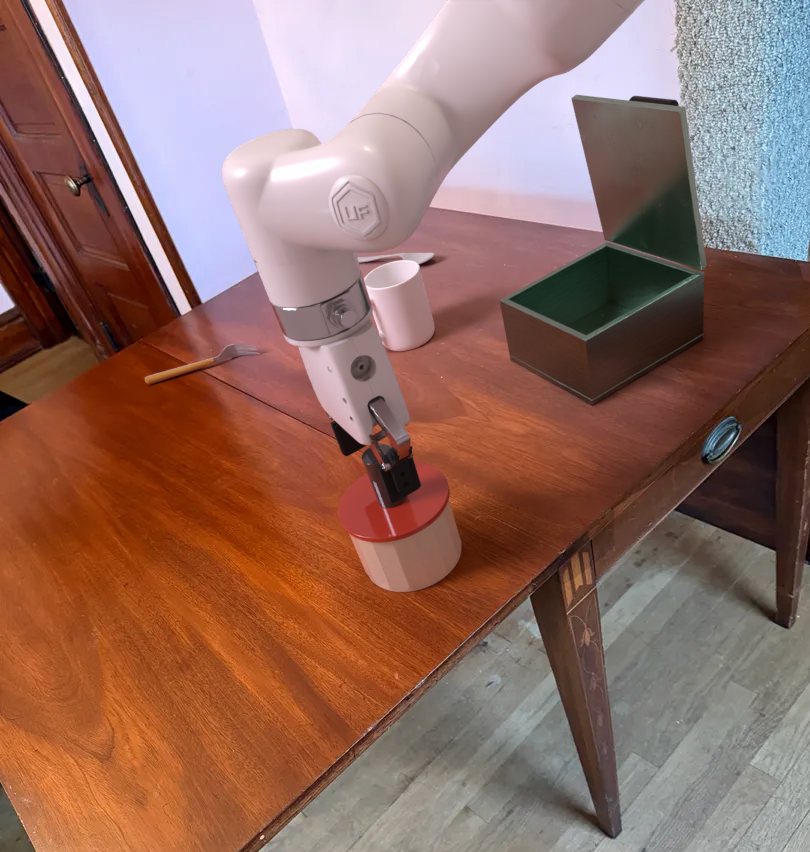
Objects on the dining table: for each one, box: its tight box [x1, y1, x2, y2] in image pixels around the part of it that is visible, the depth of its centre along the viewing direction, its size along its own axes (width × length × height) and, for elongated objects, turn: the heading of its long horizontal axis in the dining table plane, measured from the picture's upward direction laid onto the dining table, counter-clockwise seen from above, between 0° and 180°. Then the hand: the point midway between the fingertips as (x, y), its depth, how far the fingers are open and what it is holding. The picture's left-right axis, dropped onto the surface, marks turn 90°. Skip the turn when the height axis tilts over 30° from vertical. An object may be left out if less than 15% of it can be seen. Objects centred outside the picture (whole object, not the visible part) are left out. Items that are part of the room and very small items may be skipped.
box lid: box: [570, 94, 707, 271], centre depth 86 cm, size 18×17×5 cm
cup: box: [363, 259, 436, 352], centre depth 109 cm, size 8×12×10 cm
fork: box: [144, 343, 261, 385], centre depth 122 cm, size 2×2×20 cm
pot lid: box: [337, 443, 451, 543], centre depth 72 cm, size 11×11×7 cm
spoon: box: [357, 252, 436, 265], centre depth 134 cm, size 4×21×2 cm, turn 56°
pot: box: [348, 499, 463, 593], centre depth 76 cm, size 10×10×8 cm
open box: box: [499, 241, 705, 406], centre depth 94 cm, size 18×17×9 cm
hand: (380, 470), depth 71 cm, fingers open, 9 cm apart
